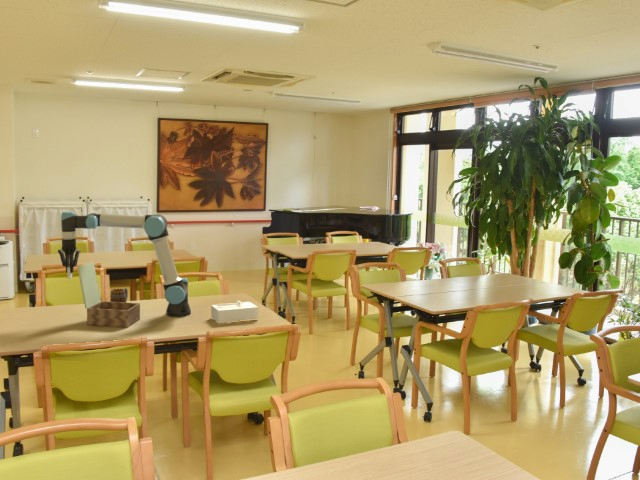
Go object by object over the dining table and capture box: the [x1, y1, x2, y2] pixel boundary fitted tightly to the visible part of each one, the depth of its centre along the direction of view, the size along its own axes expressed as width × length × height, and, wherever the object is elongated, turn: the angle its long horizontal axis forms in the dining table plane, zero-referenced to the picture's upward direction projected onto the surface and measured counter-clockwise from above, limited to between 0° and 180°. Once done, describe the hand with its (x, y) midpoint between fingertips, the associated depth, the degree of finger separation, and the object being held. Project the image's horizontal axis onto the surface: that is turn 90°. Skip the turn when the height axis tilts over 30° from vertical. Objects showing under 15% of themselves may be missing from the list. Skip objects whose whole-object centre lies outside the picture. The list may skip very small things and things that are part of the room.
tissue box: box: [210, 300, 259, 323], centre depth 359 cm, size 14×25×11 cm, turn 117°
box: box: [86, 300, 141, 329], centre depth 344 cm, size 24×18×10 cm
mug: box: [109, 287, 129, 303], centre depth 366 cm, size 16×11×15 cm
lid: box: [76, 261, 102, 310], centre depth 343 cm, size 24×18×1 cm
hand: (69, 278), depth 344 cm, fingers closed
